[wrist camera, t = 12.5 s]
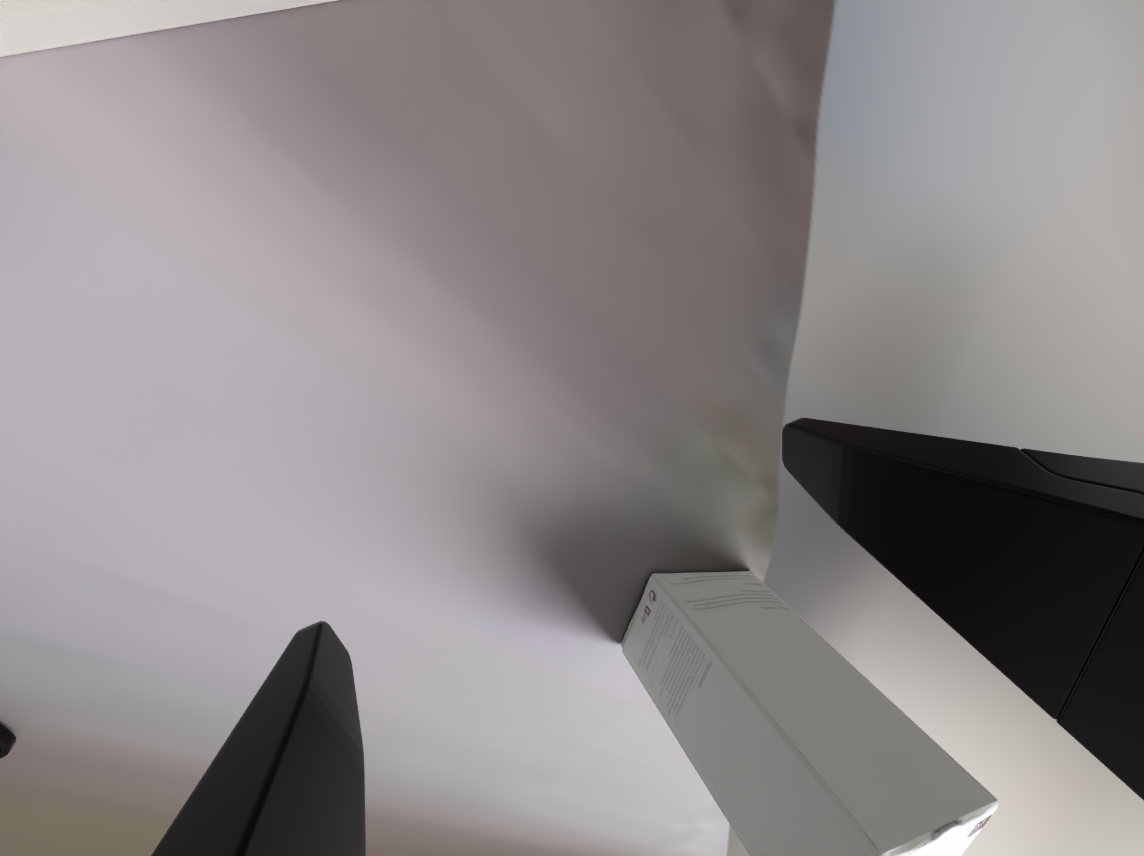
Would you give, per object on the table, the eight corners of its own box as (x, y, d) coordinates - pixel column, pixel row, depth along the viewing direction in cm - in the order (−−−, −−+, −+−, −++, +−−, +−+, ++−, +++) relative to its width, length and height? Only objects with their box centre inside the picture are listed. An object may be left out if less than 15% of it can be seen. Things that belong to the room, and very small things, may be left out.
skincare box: (617, 646, 30) (798, 974, 18) (651, 564, 28) (881, 869, 16) (723, 637, 34) (935, 905, 21) (759, 565, 32) (1016, 812, 19)
